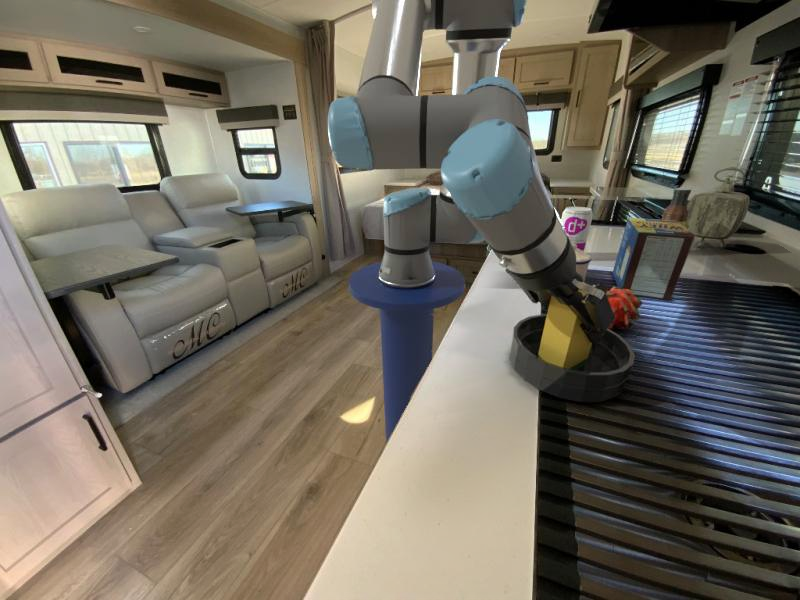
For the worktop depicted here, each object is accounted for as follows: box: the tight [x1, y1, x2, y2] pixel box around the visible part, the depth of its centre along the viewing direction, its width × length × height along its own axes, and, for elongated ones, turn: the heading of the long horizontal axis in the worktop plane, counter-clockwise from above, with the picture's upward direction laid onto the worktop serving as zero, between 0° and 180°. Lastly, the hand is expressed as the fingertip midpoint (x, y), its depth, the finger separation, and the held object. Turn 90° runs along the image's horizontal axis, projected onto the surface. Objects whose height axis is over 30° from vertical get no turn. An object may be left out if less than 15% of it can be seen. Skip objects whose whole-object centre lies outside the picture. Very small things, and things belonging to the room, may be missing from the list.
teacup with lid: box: [571, 243, 592, 282], centre depth 80 cm, size 12×9×12 cm
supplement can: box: [560, 206, 594, 252], centre depth 102 cm, size 8×8×15 cm
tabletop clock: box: [685, 167, 751, 249], centre depth 108 cm, size 14×9×25 cm, turn 40°
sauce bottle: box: [660, 187, 692, 227], centre depth 104 cm, size 6×6×20 cm
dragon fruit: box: [606, 286, 643, 331], centre depth 66 cm, size 8×8×12 cm
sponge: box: [538, 294, 607, 370], centre depth 52 cm, size 4×7×13 cm, turn 122°
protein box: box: [612, 217, 696, 301], centre depth 81 cm, size 10×15×16 cm
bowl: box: [509, 313, 636, 403], centre depth 54 cm, size 17×17×6 cm
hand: (581, 329), depth 54 cm, fingers closed on sponge, 4 cm apart
